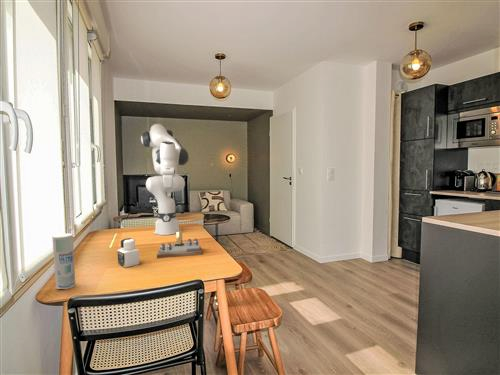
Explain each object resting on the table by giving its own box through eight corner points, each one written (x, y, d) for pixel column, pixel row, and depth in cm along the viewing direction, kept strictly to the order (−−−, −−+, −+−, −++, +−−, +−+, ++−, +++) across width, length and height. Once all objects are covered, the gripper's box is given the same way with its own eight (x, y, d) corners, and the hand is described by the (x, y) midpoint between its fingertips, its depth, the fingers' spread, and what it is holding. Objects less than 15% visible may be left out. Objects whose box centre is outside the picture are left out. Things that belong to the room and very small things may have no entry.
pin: (176, 249, 154) (176, 231, 154) (182, 249, 155) (182, 230, 154) (176, 251, 151) (176, 232, 151) (182, 250, 152) (182, 231, 151)
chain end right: (173, 248, 156) (172, 239, 155) (198, 247, 159) (198, 238, 158) (172, 252, 149) (172, 243, 149) (199, 250, 152) (199, 241, 151)
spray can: (58, 291, 107) (55, 238, 106) (53, 287, 112) (50, 235, 110) (78, 286, 112) (75, 234, 111) (72, 281, 117) (69, 232, 115)
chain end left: (160, 249, 154) (160, 243, 154) (186, 248, 157) (186, 241, 157) (159, 253, 148) (159, 246, 147) (186, 251, 150) (186, 245, 150)
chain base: (158, 251, 156) (158, 248, 156) (200, 248, 161) (200, 246, 161) (156, 258, 145) (156, 255, 145) (201, 254, 150) (201, 251, 150)
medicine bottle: (117, 264, 136) (116, 239, 135) (132, 260, 142) (131, 236, 141) (124, 268, 132) (123, 242, 131) (139, 264, 137) (138, 239, 136)
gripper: (164, 170, 172) (164, 193, 173) (161, 171, 152) (162, 197, 153) (175, 170, 173) (175, 193, 174) (173, 170, 153) (174, 197, 154)
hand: (169, 195), depth 164 cm, fingers open, 8 cm apart
